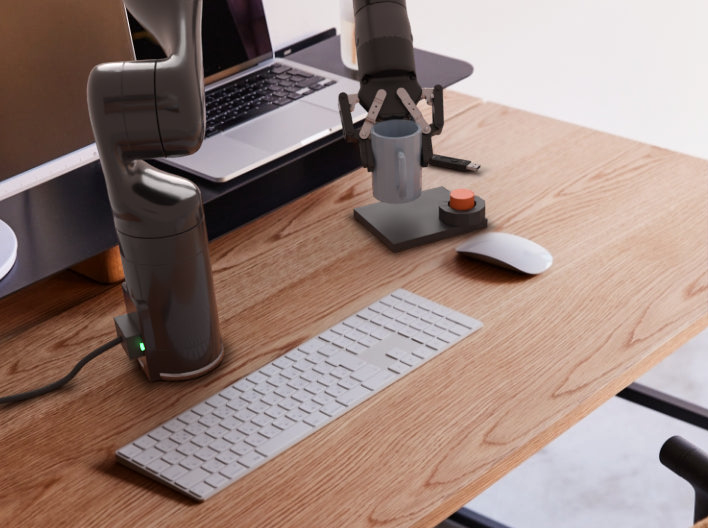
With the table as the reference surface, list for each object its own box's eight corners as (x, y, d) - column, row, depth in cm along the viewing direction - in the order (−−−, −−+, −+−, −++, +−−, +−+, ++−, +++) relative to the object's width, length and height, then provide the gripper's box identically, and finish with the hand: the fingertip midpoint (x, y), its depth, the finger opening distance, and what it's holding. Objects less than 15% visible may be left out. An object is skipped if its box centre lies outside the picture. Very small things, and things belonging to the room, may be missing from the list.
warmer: (396, 254, 137) (395, 233, 135) (353, 216, 146) (352, 196, 144) (493, 227, 142) (494, 206, 140) (445, 192, 151) (446, 172, 149)
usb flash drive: (481, 168, 157) (481, 161, 156) (475, 173, 155) (475, 166, 155) (433, 159, 160) (433, 152, 160) (427, 164, 159) (427, 157, 158)
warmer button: (457, 213, 140) (457, 201, 139) (445, 204, 142) (445, 192, 141) (478, 207, 141) (479, 195, 140) (466, 198, 143) (466, 186, 142)
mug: (369, 184, 144) (367, 121, 139) (417, 180, 145) (417, 117, 140) (378, 215, 137) (376, 149, 132) (428, 211, 137) (428, 145, 132)
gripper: (435, 57, 145) (449, 173, 142) (329, 65, 144) (341, 182, 142) (442, 29, 137) (457, 152, 135) (330, 37, 137) (343, 161, 134)
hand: (398, 167), depth 138 cm, fingers closed on mug, 6 cm apart
